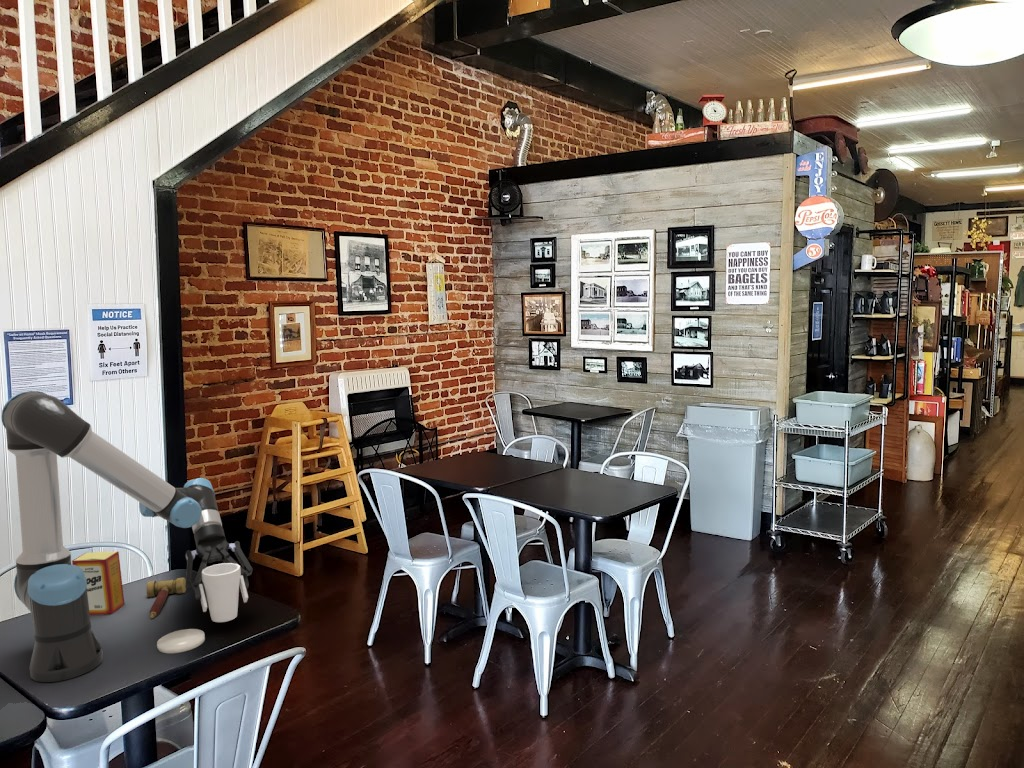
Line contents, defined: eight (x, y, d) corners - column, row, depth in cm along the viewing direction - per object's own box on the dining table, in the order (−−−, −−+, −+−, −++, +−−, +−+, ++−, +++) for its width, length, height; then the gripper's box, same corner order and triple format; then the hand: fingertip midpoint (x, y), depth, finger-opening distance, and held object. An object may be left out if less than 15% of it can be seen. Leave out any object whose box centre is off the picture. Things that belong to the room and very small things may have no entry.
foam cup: (251, 613, 206) (247, 565, 205) (225, 626, 198) (221, 577, 196) (223, 608, 210) (220, 561, 209) (197, 621, 202) (193, 572, 200)
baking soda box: (78, 615, 216) (71, 559, 214) (92, 605, 222) (85, 551, 220) (112, 614, 216) (105, 558, 214) (124, 604, 222) (118, 550, 220)
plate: (177, 656, 188) (176, 652, 188) (147, 648, 193) (147, 643, 193) (214, 638, 197) (214, 633, 197) (185, 630, 203) (184, 626, 202)
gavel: (170, 606, 211) (131, 611, 209) (172, 622, 212) (133, 627, 210) (185, 574, 231) (149, 579, 229) (186, 589, 232) (151, 593, 230)
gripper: (247, 530, 221) (266, 601, 210) (163, 545, 209) (179, 621, 198) (251, 515, 216) (271, 588, 205) (165, 530, 204) (181, 608, 193)
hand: (226, 604), depth 201 cm, fingers closed on foam cup, 9 cm apart
